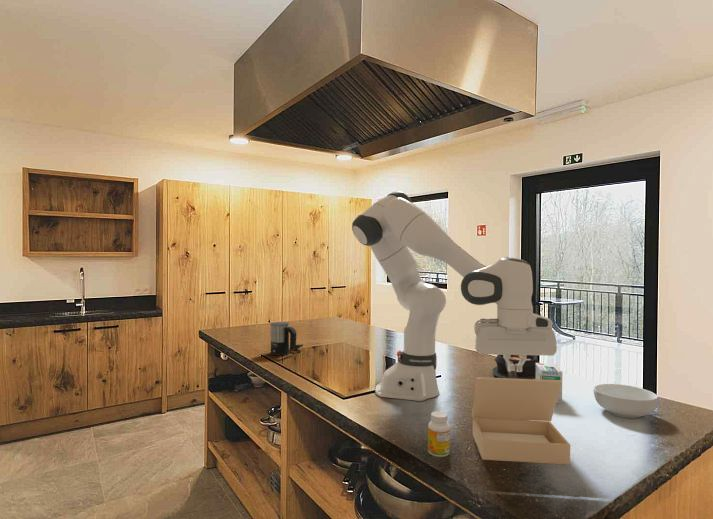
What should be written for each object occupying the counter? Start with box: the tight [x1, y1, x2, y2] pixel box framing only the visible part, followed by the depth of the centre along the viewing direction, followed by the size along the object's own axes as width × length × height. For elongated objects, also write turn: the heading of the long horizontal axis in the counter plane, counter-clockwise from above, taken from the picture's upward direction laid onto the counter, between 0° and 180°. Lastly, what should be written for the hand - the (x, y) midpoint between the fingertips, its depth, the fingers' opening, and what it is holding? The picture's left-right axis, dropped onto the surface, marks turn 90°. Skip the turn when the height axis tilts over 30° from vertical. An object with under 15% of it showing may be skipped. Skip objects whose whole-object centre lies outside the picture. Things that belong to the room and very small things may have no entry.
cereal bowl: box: [593, 383, 659, 419], centre depth 135 cm, size 17×17×7 cm
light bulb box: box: [535, 362, 563, 404], centre depth 149 cm, size 11×7×11 cm, turn 168°
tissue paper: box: [482, 432, 549, 443], centre depth 109 cm, size 16×11×2 cm
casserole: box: [492, 355, 540, 379], centre depth 174 cm, size 25×19×8 cm
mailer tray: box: [472, 417, 571, 465], centre depth 109 cm, size 20×14×5 cm
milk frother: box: [269, 321, 304, 356], centre depth 212 cm, size 14×16×15 cm
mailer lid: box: [471, 361, 563, 422], centre depth 116 cm, size 21×15×10 cm
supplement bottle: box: [427, 410, 451, 458], centre depth 107 cm, size 5×5×10 cm
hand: (514, 371), depth 114 cm, fingers closed
